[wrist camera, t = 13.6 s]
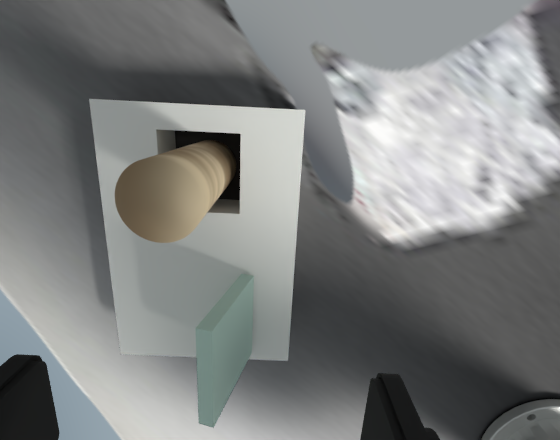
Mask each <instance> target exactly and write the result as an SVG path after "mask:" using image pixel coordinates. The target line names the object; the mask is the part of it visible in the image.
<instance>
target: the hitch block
mask: <svg viewBox="0 0 560 440" xmlns="http://www.w3.org/2000/svg"><path fill="white" fill-rule="evenodd" d="M89 103H90V111H91V119H92V127H93V135H94V143H95V152H96V160H97V168H98V176H99V184H100V192H101V201H102V209H103V217H104V225H105V233H106V241H107V250H108V258H109V266H110V274H111V282H112V290H113V299H114V307H115V315H116V323H117V331H118V339H119V348H120V354H121V355H147V356H172V357H196V329H195V328H196V327H197V326H198V325H199V323H200V322H201V321H202V320H203V319H204V317H205V316H206V315H207V314H208V313H209V312H210V310H211V309H212V308H213V307H214V306H215V304H216V303H217V302H218V301H219V300H220V299H221V297H222V296H223V295H224V294H225V293H226V291H227V290H228V289H229V288H230V287H231V286H232V284H233V283H234V282H235V281H236V280H237V278H238V277H239V276H240V275H241V274H246V275H252V276H254V291H253V328H252V353H251V355H250V357H249V360H275V361H288V354H289V339H290V325H291V310H292V296H293V281H294V267H295V252H296V237H297V223H298V208H299V194H300V179H301V165H302V150H303V136H304V121H305V110H295V109H276V108H257V107H238V106H218V105H199V104H180V103H160V102H141V101H122V100H103V99H89ZM175 130H178V131H198V132H218V133H237V134H241V142H240V200H225V199H217V201H216V202H215V203H214V204H213V206H212V207H211V208H210V210H209V211H208V212H207V214H206V215H205V216H204V218H203V219H202V220H201V222H200V223H199V224H198V225H197V227H196V228H195V229H194V230H193V231H192V233H190V234H189V235H188V236H186V237H185V238H183V239H181V240H178V241H175V242H170V243H157V242H152V241H149V240H146V239H144V238H142V237H140V236H138V235H137V234H135V233H134V232H133V231H131V230H130V229H129V228H128V227H127V226H126V225H125V223H124V222H123V221H122V219H121V217H120V215H119V213H118V211H117V208H116V204H115V187H116V183H117V181H118V178H119V177H120V175H121V173H122V172H123V171H124V170H125V169H126V168H127V167H128V166H129V165H131V164H132V163H134V162H136V161H138V160H141V159H145V158H148V157H151V156H155V155H158V154H161V153H165V152H168V151H171V150H175V149H176V141H175Z"/></svg>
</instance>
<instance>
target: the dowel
mask: <svg viewBox="0 0 560 440" xmlns="http://www.w3.org/2000/svg"><path fill="white" fill-rule="evenodd" d="M236 168H237V164H236V159H235V156H234V154H233V152H232V151H231V149H230V148H229V147H228V146H227V145H225V144H224V143H222V142H220V141H216V140H204V141H201V142H198V143H194V144H191V145H188V146H184V147H181V148H178V149H175V150H171V151H168V152H165V153H161V154H158V155H155V156H151V157H148V158H145V159H141V160H138V161H136V162H134V163H132V164H131V165H129V166H128V167H127V168H126V169H125V170H124V171H123V172H122V173H121V175H120V177H119V178H118V181H117V183H116V187H115V204H116V208H117V211H118V213H119V215H120V217H121V219H122V221H123V222H124V223H125V225H126V226H127V227H128V228H129V229H130V230H131V231H133V232H134V233H135V234H137V235H138V236H140V237H142V238H144V239H146V240H149V241H152V242H157V243H170V242H175V241H178V240H181V239H183V238H185V237H186V236H188V235H189V234H190V233H192V231H193V230H194V229H195V228H196V227H197V225H198V224H199V223H200V222H201V220H202V219H203V218H204V216H205V215H206V214H207V212H208V211H209V210H210V208H211V207H212V206H213V204H214V203H215V202H216V201H217V199H218V198H219V197H220V195H221V194H222V193H223V191H224V190H225V189H226V187H227V186H228V185H229V183H230V182H231V181H232V179H233V178H234V176H235V173H236Z"/></svg>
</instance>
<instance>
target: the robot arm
mask: <svg viewBox="0 0 560 440" xmlns="http://www.w3.org/2000/svg"><path fill="white" fill-rule="evenodd" d="M58 438H59V428H58V423H57V418H56V412H55V407H54V402H53V396H52V392H51V386H50V381H49V376H48V370H47V365H46V363H45V362H43V361H42V359H41V358H40V356H37V355H14V356H12V357H11V358H9V359H8V360H7V361H6V362H5V363H4V364H2V365H1V366H0V440H58ZM360 440H440V439H439V437H438V435H437V434H436V432H435V431H434V430H433V429H431V428H424V426H423V424H422V422H421V420H420V418H419V415H418V413H417V411H416V409H415V407H414V405H413V402H412V400H411V398H410V396H409V394H408V392H407V389H406V387H405V385H404V383H403V381H402V379H401V377H400V375H398V374H384V373H378V375H377V377H376V379H375V378H372V379H371V381H370V386H369V392H368V398H367V404H366V410H365V415H364V421H363V427H362V433H361V439H360ZM482 440H560V399H545V400H536V401H532V402H528V403H525V404H522V405H520V406H517V407H515V408H513V409H511V410H509V411H507V412H506V413H504V414H503V415H501V416H500V417H499V418H497V419H496V420H495V421H494V422H493V423H492V424H491V425H490V426H489V427H488V429H487V430H486V432H485V434H484V435H483V437H482Z"/></svg>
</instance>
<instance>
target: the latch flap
mask: <svg viewBox="0 0 560 440" xmlns="http://www.w3.org/2000/svg"><path fill="white" fill-rule="evenodd" d="M253 291H254V276H252V275H246V274H241V275H240V276H239V277H238V278H237V280H236V281H235V282H234V283H233V284H232V286H231V287H230V288H229V289H228V290H227V291H226V293H225V294H224V295H223V296H222V297H221V299H220V300H219V301H218V302H217V303H216V304H215V306H214V307H213V308H212V309H211V310H210V312H209V313H208V314H207V315H206V316H205V317H204V319H203V320H202V321H201V322H200V323H199V325H198V326H197V327H196V328H195V329H196V357H197V385H198V413H199V424H203V425H206V426H209V427H213V428H214V426H215V424H216V422H217V420H218V418H219V416H220V414H221V412H222V410H223V408H224V406H225V404H226V402H227V400H228V398H229V396H230V394H231V393H232V391H233V389H234V387H235V385H236V383H237V381H238V379H239V377H240V375H241V373H242V371H243V369H244V367H245V365H246V363H247V361H248V359H249V357H250V355H251V353H252V328H253Z"/></svg>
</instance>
